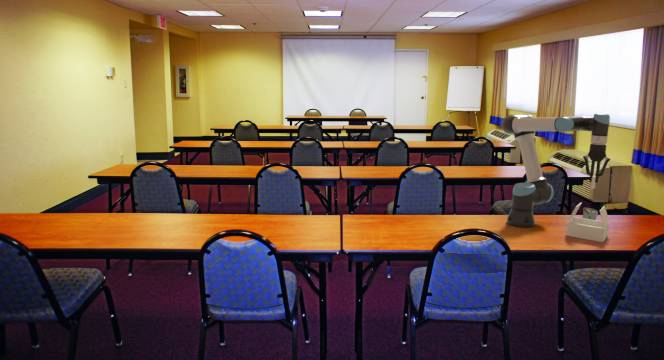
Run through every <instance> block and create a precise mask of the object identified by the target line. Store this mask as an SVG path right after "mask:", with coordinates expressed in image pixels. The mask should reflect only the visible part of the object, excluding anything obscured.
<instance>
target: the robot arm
mask: <svg viewBox="0 0 664 360" xmlns="http://www.w3.org/2000/svg"><path fill="white" fill-rule="evenodd" d="M610 118H611V117H610V114H608V113H594V114H593V116H583V115H574V116H551V117H550V116H546V117H534V116H533V115H531V114H526V113H523V114H508V115H506V116H504V118H503V119H502V121H501V128H502V131H503V132H504V133H505V134H508V135H512V136H513V137H514V140H516V141H517V142H518V145H519V149H520V154H521V157H522V162H523V167H524V170H525V173H526V179H527V181H525V182H517V183H515V184H514V186H513V187H512V197H511V209H510V212H509V214H508V215H507V219H506V224H508V225H510V226H513V227H518V228H532V227H535V224H536V221H535V216H534V205H536V206H537V205H543V204H546V203H549V202H550V201H552V199H553V197H554V193H555V192H554V190H555V189H554V188H553V187H554V186H552V185H551V184H550V183H548V180H547V178H546V177H544V175H543V172H542V168H541V167H542V166H541V163H540V158H539V154H538V152H537V147H536V142H535V139H534V137H535V135H536V132H562V133H565V132H575V131H576V132H579V131H582V132H583V131H584V132H591V135H590V144H589V149H588V150H589V151H588V153H587V154H586V155H584V156H582V158H583V160H584V165H585V173H586V175H588V176H589V183H590V189H591V190H592V189H593V190H594V189H596V184H597V183H598V182H599V177H602V176H603V175H604V173H605V171H606V168H607V165H608V163H609V162H610V161H611V157H608V156H607V154H606V151H607V143H608V137H609V128H610V121H611V119H610ZM589 159H590V161H591V165H590V164H589ZM603 160H604V163H603V165H602V168H601V163H602V161H603ZM595 164H596V169H595ZM594 172H595V175H594Z"/></svg>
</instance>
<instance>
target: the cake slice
mask: <svg viewBox="0 0 664 360" xmlns="http://www.w3.org/2000/svg"><path fill="white" fill-rule="evenodd" d="M582 210H583V211H582V218H584V219H590V220H596V221H597V217H598V216H599V212H598V210H597V209H594V208H591V207H583V209H582Z"/></svg>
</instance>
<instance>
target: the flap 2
mask: <svg viewBox="0 0 664 360" xmlns="http://www.w3.org/2000/svg"><path fill="white" fill-rule="evenodd" d="M599 214H600V218H601V221H602V222H603V226H604V227H605V226H606V225H607V224H608V223H609V224H610V220H609V219H610V218H609V216H608V212H607V208H606V205H603V207H601V209H599Z"/></svg>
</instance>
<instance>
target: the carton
mask: <svg viewBox="0 0 664 360" xmlns="http://www.w3.org/2000/svg"><path fill="white" fill-rule="evenodd" d="M609 228H610V222H609V223H608V224H607V225H606V226H605V227H604V226H603V222H602V220H601V221H600V220H597V219H596V220H590V219H584V218H583V217H578V216H574V217H573V218H572V219H571V220H570V221H568V220H567V222H566V230H565V232H566V233H565V236H566V237H571V238H577V239H580V240H587V241H592V242H597V243H604V242H605V241H606V240H607V238H608V236H609Z"/></svg>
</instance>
